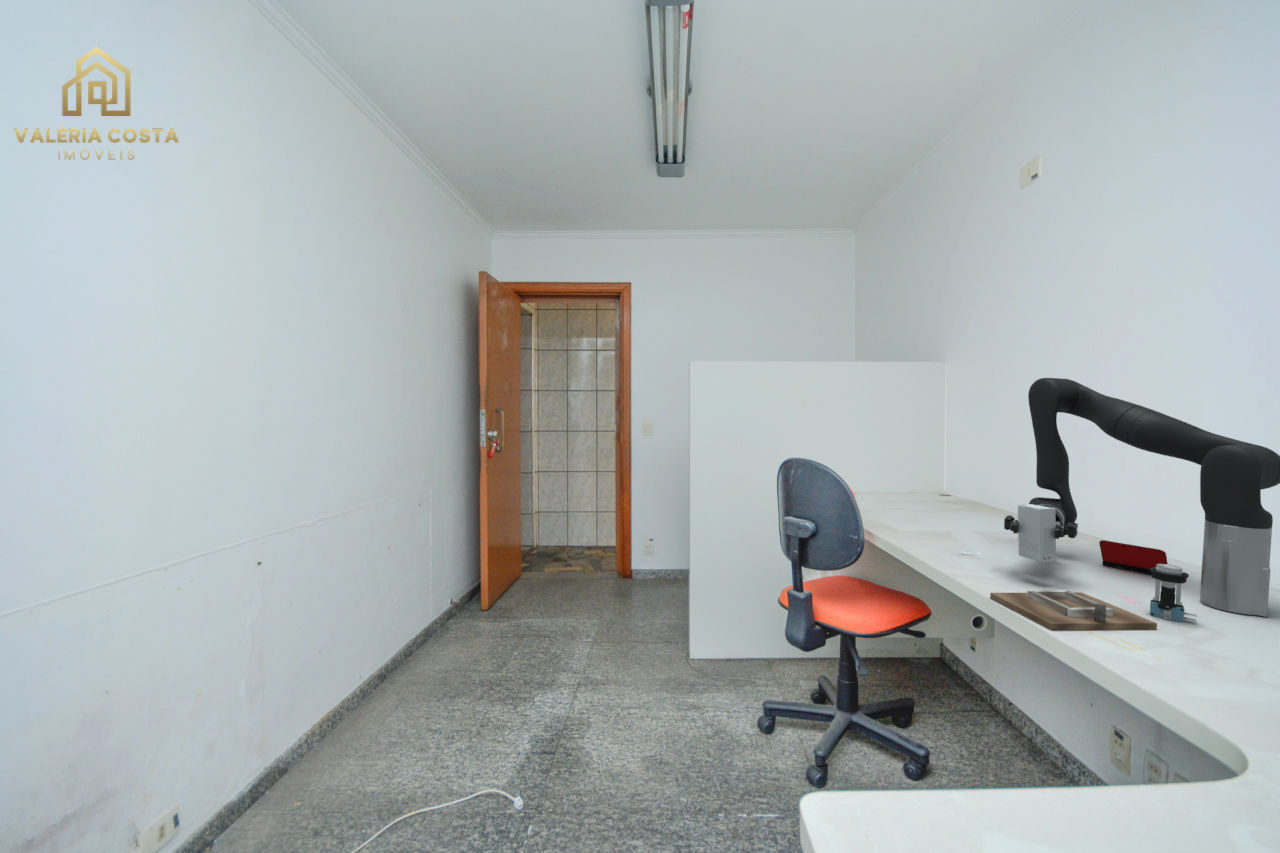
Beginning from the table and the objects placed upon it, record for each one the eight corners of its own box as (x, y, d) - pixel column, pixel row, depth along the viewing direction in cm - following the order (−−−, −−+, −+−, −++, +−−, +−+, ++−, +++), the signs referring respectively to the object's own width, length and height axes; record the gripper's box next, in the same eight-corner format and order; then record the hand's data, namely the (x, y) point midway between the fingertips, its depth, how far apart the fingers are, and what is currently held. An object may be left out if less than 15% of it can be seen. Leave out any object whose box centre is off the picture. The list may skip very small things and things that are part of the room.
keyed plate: (1081, 598, 115) (1082, 578, 115) (1156, 629, 99) (1157, 606, 99) (990, 598, 114) (991, 578, 114) (1051, 630, 98) (1052, 607, 98)
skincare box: (1057, 561, 122) (1058, 508, 121) (1040, 563, 121) (1041, 509, 120) (1031, 554, 128) (1032, 503, 127) (1015, 555, 127) (1017, 504, 126)
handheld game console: (1176, 574, 134) (1178, 544, 133) (1164, 582, 128) (1165, 550, 127) (1111, 561, 144) (1113, 533, 144) (1096, 568, 138) (1098, 539, 138)
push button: (1194, 619, 104) (1198, 568, 104) (1197, 627, 100) (1200, 574, 100) (1147, 610, 109) (1150, 560, 108) (1147, 617, 105) (1150, 566, 104)
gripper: (1010, 502, 139) (998, 510, 127) (1082, 509, 130) (1076, 519, 117) (1009, 531, 139) (997, 542, 127) (1081, 540, 130) (1075, 553, 118)
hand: (1035, 531), depth 122 cm, fingers closed on skincare box, 7 cm apart
